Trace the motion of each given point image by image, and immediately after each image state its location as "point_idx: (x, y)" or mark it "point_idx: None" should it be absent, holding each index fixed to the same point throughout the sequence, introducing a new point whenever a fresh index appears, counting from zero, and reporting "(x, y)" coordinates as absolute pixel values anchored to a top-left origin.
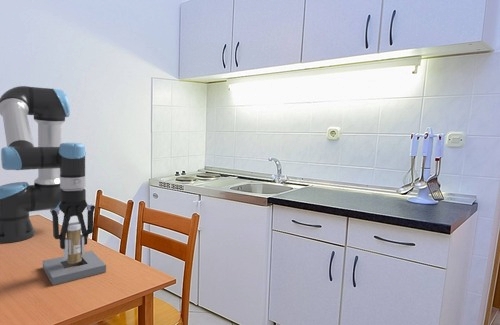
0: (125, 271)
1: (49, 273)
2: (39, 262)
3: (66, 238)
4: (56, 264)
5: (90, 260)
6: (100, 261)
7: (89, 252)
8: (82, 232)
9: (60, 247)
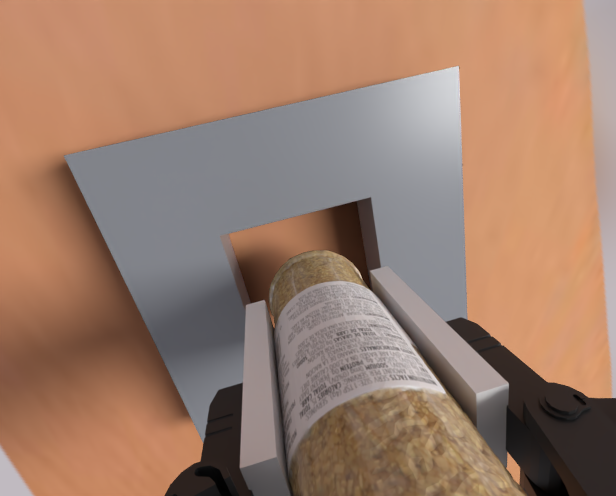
0: (516, 355)
1: (176, 382)
2: (28, 6)
3: (288, 493)
4: (198, 274)
5: (410, 277)
6: (457, 311)
7: (433, 108)
8: (547, 445)
9: (216, 407)
